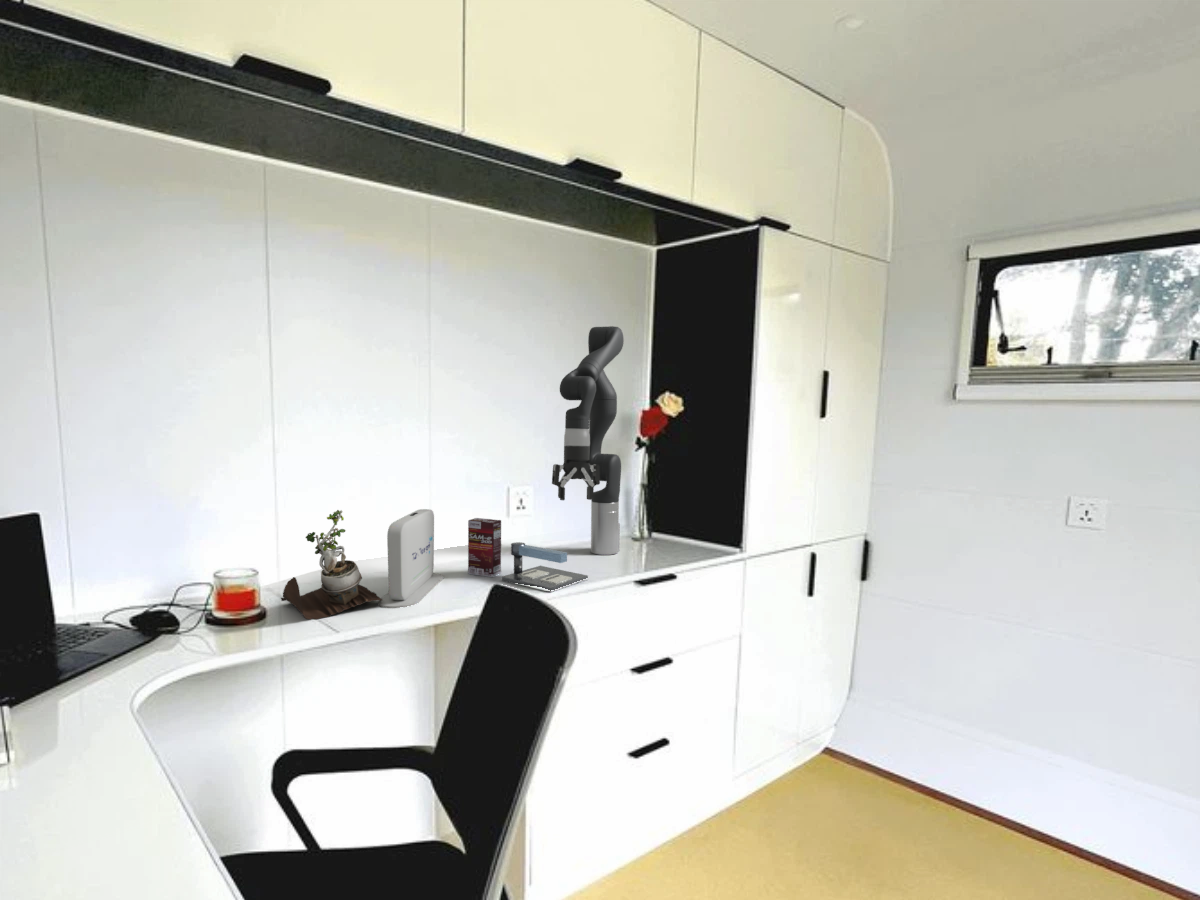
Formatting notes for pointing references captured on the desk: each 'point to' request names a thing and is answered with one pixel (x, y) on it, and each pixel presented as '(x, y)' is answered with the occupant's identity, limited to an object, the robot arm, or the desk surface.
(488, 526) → the supplement box
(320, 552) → the potted plant
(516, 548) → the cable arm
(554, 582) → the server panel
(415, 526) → the wireless router
